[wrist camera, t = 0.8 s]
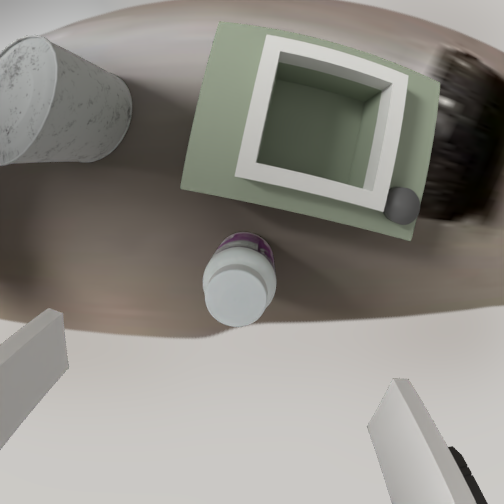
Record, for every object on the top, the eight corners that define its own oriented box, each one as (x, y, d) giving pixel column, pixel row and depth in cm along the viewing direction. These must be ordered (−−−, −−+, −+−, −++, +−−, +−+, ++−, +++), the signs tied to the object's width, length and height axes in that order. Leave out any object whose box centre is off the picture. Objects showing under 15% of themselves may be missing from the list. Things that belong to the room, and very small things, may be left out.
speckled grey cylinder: (151, 98, 25) (83, 60, 14) (97, 180, 28) (13, 192, 16) (89, 58, 24) (15, 21, 12) (42, 134, 26) (-40, 130, 14)
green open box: (203, 183, 27) (170, 190, 18) (231, 58, 24) (215, 8, 15) (374, 222, 28) (423, 248, 18) (398, 101, 24) (454, 77, 15)
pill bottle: (276, 283, 29) (281, 334, 20) (220, 288, 30) (201, 339, 20) (271, 227, 28) (274, 255, 19) (212, 233, 28) (187, 263, 19)
